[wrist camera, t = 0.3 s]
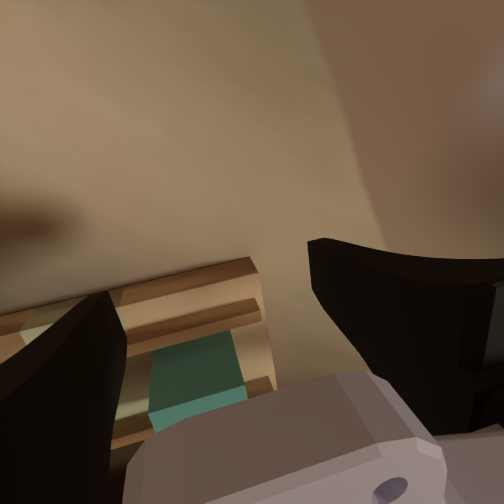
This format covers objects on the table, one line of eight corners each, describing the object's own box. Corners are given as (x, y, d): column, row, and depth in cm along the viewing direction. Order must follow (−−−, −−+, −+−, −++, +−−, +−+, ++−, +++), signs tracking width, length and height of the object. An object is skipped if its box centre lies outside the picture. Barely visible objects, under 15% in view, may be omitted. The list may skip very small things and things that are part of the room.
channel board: (269, 373, 27) (285, 413, 24) (28, 445, 24) (3, 502, 21) (249, 256, 22) (264, 284, 19) (-52, 328, 20) (-101, 376, 16)
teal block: (239, 372, 23) (256, 435, 19) (169, 393, 22) (168, 463, 18) (229, 327, 21) (245, 385, 17) (152, 348, 21) (147, 413, 16)
